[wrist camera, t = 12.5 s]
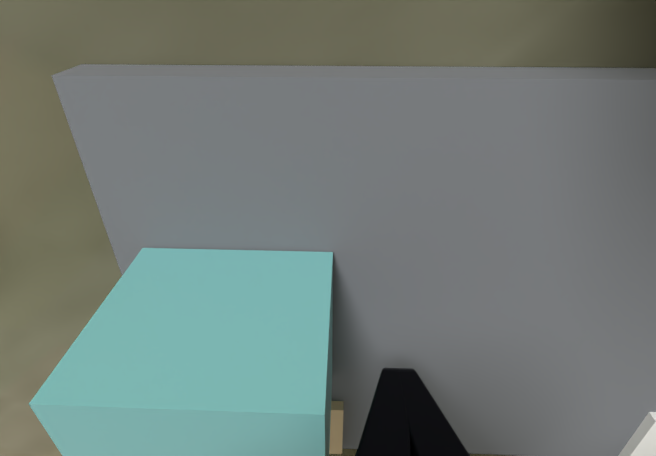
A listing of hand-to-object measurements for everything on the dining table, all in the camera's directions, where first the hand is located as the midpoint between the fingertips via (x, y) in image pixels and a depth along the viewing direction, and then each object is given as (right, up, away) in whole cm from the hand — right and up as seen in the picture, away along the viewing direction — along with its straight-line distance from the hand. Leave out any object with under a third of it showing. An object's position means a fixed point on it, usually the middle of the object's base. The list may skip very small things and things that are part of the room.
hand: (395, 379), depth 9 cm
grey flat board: (+4, +1, +2) cm, 4 cm away
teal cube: (-4, +1, +1) cm, 4 cm away
